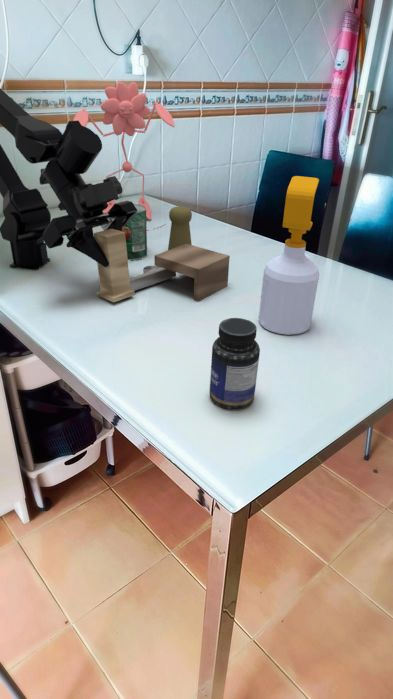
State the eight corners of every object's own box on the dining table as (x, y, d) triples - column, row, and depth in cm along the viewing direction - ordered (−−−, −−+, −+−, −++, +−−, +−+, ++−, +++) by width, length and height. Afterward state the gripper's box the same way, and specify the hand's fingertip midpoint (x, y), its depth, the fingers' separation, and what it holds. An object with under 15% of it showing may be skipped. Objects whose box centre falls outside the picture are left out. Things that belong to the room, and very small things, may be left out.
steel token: (140, 280, 99) (140, 271, 98) (146, 273, 102) (146, 264, 101) (159, 282, 98) (159, 273, 97) (164, 275, 102) (164, 266, 101)
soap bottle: (313, 317, 87) (337, 176, 74) (306, 340, 79) (332, 187, 67) (264, 308, 89) (280, 170, 76) (253, 330, 82) (269, 181, 69)
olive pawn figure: (189, 259, 111) (190, 211, 105) (164, 257, 111) (164, 209, 106) (194, 251, 116) (196, 205, 110) (170, 248, 117) (170, 203, 111)
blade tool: (97, 295, 91) (89, 233, 85) (165, 272, 102) (162, 215, 96) (113, 302, 88) (106, 237, 82) (181, 277, 99) (179, 219, 93)
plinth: (154, 286, 96) (154, 255, 93) (185, 272, 103) (186, 243, 100) (197, 301, 91) (199, 269, 88) (227, 286, 98) (229, 255, 94)
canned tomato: (107, 257, 110) (103, 209, 104) (124, 247, 116) (121, 201, 111) (137, 263, 108) (135, 214, 102) (153, 252, 114) (152, 206, 108)
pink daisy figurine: (79, 219, 135) (66, 78, 117) (165, 214, 144) (167, 81, 125) (88, 237, 123) (76, 82, 105) (182, 230, 132) (186, 85, 113)
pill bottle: (207, 385, 67) (210, 314, 62) (249, 384, 68) (257, 314, 62) (212, 412, 62) (216, 338, 56) (258, 411, 62) (267, 337, 57)
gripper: (44, 168, 75) (97, 252, 75) (128, 155, 88) (173, 227, 88) (21, 209, 83) (69, 285, 83) (101, 192, 96) (143, 258, 96)
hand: (116, 262), depth 87 cm, fingers closed on blade tool, 4 cm apart
